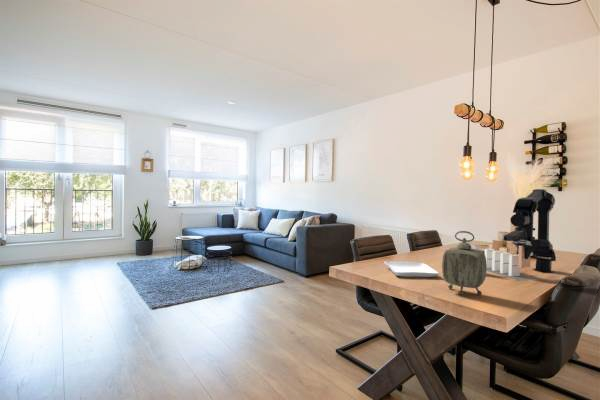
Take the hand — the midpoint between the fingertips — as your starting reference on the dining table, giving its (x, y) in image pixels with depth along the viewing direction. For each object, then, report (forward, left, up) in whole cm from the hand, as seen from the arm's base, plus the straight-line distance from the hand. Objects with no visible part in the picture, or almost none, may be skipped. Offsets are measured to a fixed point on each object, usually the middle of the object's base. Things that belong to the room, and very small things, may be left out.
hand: (524, 258), depth 145 cm
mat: (0, -10, -10) cm, 14 cm away
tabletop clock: (+44, +13, -10) cm, 47 cm away
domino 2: (0, -15, -9) cm, 18 cm away
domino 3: (0, -10, -9) cm, 14 cm away
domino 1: (0, -20, -9) cm, 22 cm away
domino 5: (0, 0, -4) cm, 4 cm away
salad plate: (+47, -20, -10) cm, 52 cm away
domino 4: (0, -5, -9) cm, 11 cm away
